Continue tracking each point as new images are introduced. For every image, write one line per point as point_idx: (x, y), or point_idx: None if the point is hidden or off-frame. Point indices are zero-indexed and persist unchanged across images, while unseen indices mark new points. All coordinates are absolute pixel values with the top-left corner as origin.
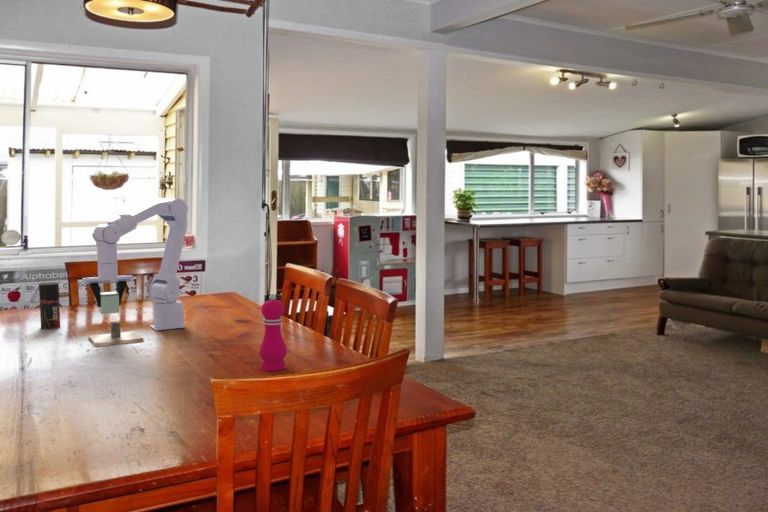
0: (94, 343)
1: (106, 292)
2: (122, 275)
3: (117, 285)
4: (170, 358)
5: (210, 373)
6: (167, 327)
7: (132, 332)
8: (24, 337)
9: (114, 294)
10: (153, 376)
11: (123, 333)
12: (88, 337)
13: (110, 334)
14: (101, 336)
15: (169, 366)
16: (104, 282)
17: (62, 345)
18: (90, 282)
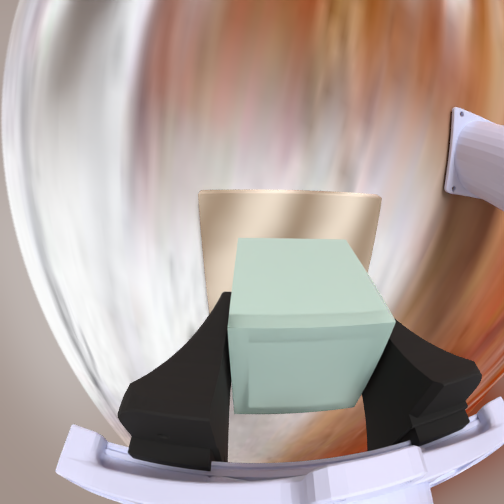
0: (209, 309)
1: (304, 347)
2: (482, 455)
3: (394, 418)
4: (321, 423)
5: (323, 457)
6: (473, 194)
7: (365, 220)
8: (29, 82)
9: (325, 407)
10: (266, 455)
11: (333, 221)
12: (199, 192)
13: (284, 214)
14: (244, 233)
15: (300, 442)
16: (277, 475)
17: (119, 251)
18: (140, 469)
